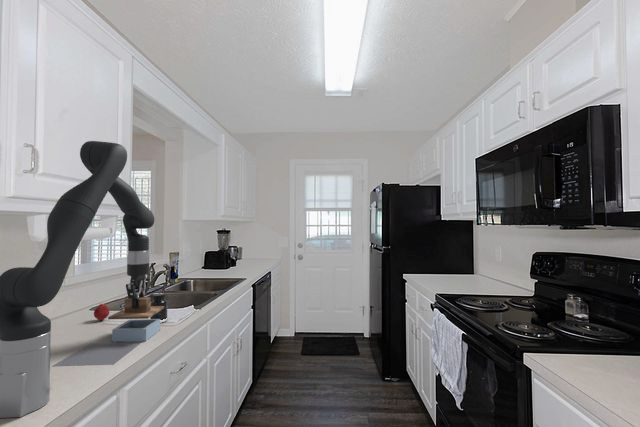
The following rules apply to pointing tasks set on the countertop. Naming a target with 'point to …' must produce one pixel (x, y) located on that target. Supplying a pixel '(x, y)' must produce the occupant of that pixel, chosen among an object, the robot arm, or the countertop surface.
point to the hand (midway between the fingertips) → (137, 306)
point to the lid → (137, 310)
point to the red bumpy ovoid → (101, 312)
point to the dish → (136, 330)
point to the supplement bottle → (159, 301)
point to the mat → (98, 354)
